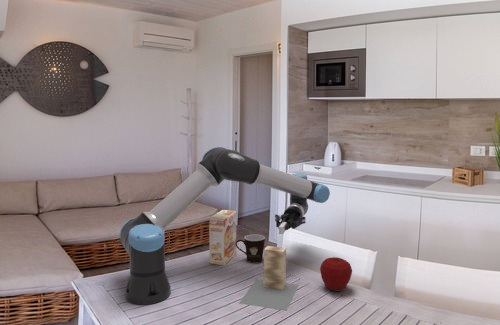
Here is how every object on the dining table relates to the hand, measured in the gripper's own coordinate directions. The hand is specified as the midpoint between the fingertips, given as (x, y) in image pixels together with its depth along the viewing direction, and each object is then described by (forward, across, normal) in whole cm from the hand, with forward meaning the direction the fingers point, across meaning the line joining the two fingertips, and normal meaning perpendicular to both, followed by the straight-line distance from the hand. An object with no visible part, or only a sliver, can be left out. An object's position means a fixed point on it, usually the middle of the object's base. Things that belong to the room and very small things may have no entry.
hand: (280, 230), depth 152 cm
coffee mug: (-15, +16, -19) cm, 29 cm away
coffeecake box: (-13, +28, -19) cm, 37 cm away
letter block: (+8, 0, -18) cm, 20 cm away
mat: (+14, 0, -19) cm, 23 cm away
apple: (+3, -21, -19) cm, 28 cm away
